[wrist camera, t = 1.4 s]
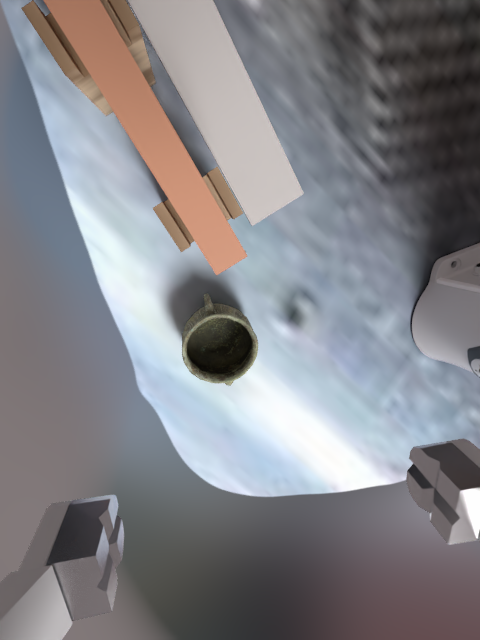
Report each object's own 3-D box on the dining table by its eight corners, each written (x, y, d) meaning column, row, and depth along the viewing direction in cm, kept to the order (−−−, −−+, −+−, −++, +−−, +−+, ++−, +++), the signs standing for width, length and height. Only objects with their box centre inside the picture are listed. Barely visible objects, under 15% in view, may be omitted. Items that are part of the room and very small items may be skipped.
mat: (188, -49, 31) (188, -52, 30) (302, 193, 39) (303, 193, 39) (124, -5, 31) (123, -8, 31) (251, 225, 39) (252, 225, 39)
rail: (58, -67, 22) (38, -106, 19) (242, 251, 30) (247, 256, 28) (20, -40, 22) (-4, -75, 19) (214, 268, 30) (216, 275, 28)
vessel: (257, 361, 46) (268, 385, 40) (195, 378, 45) (196, 404, 39) (239, 278, 41) (247, 290, 36) (169, 295, 41) (166, 311, 35)
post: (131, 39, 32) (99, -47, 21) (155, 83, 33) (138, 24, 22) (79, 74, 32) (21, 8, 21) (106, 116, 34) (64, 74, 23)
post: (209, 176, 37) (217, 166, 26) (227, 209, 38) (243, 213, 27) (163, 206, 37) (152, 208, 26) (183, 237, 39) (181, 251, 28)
